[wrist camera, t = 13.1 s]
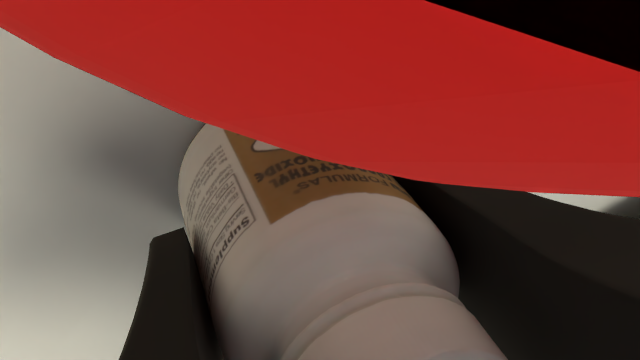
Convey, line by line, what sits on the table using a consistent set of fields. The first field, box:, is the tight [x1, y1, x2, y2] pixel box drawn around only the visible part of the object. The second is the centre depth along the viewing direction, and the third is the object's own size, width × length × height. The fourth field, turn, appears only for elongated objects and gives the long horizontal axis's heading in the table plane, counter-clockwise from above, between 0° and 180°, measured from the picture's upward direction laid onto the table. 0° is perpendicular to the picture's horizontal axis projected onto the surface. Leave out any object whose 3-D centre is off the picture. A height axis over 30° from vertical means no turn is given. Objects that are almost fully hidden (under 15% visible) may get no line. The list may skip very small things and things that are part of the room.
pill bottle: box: [178, 123, 508, 360], centre depth 11 cm, size 4×4×8 cm
